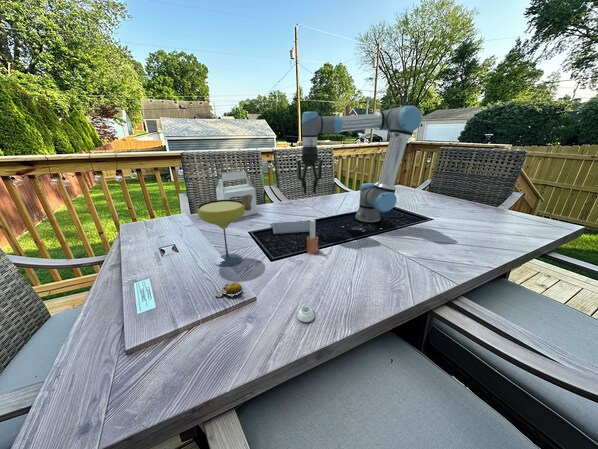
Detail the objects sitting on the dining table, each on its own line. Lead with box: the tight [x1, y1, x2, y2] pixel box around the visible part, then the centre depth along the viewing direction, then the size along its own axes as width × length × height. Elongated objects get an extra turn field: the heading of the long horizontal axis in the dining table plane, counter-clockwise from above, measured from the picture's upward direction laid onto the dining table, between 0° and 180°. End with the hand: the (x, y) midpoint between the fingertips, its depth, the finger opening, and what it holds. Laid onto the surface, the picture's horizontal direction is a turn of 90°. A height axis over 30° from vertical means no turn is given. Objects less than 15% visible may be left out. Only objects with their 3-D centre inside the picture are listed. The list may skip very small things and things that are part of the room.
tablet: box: [271, 220, 310, 236], centre depth 142 cm, size 23×17×1 cm
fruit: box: [217, 281, 243, 299], centre depth 85 cm, size 8×8×4 cm
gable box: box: [215, 171, 258, 218], centre depth 162 cm, size 22×13×28 cm, turn 127°
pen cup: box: [306, 235, 319, 254], centre depth 113 cm, size 5×5×7 cm
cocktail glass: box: [197, 199, 245, 268], centre depth 103 cm, size 18×18×25 cm
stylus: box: [309, 219, 316, 240], centre depth 112 cm, size 2×2×15 cm
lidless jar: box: [297, 305, 315, 323], centre depth 74 cm, size 5×3×5 cm
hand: (309, 192), depth 129 cm, fingers open, 4 cm apart
